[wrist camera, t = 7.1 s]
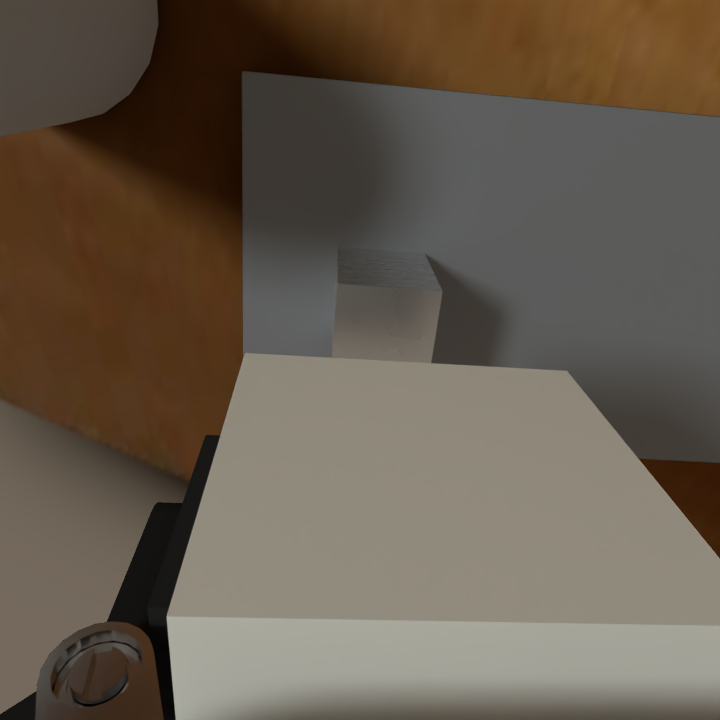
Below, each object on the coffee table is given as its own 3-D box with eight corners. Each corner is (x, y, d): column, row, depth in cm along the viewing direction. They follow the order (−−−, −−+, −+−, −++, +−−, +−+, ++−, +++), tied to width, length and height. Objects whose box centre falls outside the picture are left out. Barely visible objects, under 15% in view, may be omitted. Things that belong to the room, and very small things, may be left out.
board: (854, 130, 21) (889, 133, 20) (714, 444, 27) (734, 463, 26) (248, 71, 19) (241, 71, 18) (248, 419, 26) (243, 438, 24)
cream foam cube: (567, 370, 11) (775, 626, 6) (503, 597, 13) (609, 908, 8) (244, 352, 10) (166, 616, 5) (245, 591, 13) (192, 918, 8)
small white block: (424, 253, 21) (442, 291, 17) (413, 333, 22) (428, 382, 19) (337, 246, 21) (337, 283, 17) (331, 327, 22) (330, 377, 19)
